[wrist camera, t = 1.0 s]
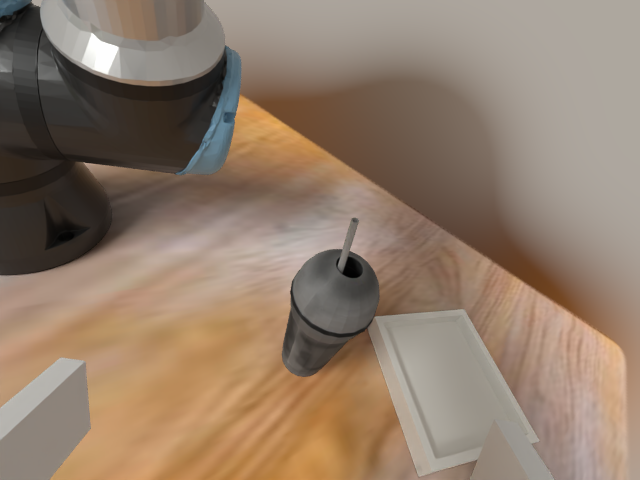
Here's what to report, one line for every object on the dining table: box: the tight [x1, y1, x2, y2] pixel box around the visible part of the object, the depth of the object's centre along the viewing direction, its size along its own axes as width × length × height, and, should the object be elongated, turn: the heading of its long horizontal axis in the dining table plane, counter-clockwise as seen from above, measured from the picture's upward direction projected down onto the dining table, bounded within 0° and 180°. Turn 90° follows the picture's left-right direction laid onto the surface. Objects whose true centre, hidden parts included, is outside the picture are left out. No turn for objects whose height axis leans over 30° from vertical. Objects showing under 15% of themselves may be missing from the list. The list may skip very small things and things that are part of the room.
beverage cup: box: [282, 218, 379, 377], centre depth 28 cm, size 7×7×20 cm
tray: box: [367, 309, 539, 477], centre depth 36 cm, size 15×13×2 cm
